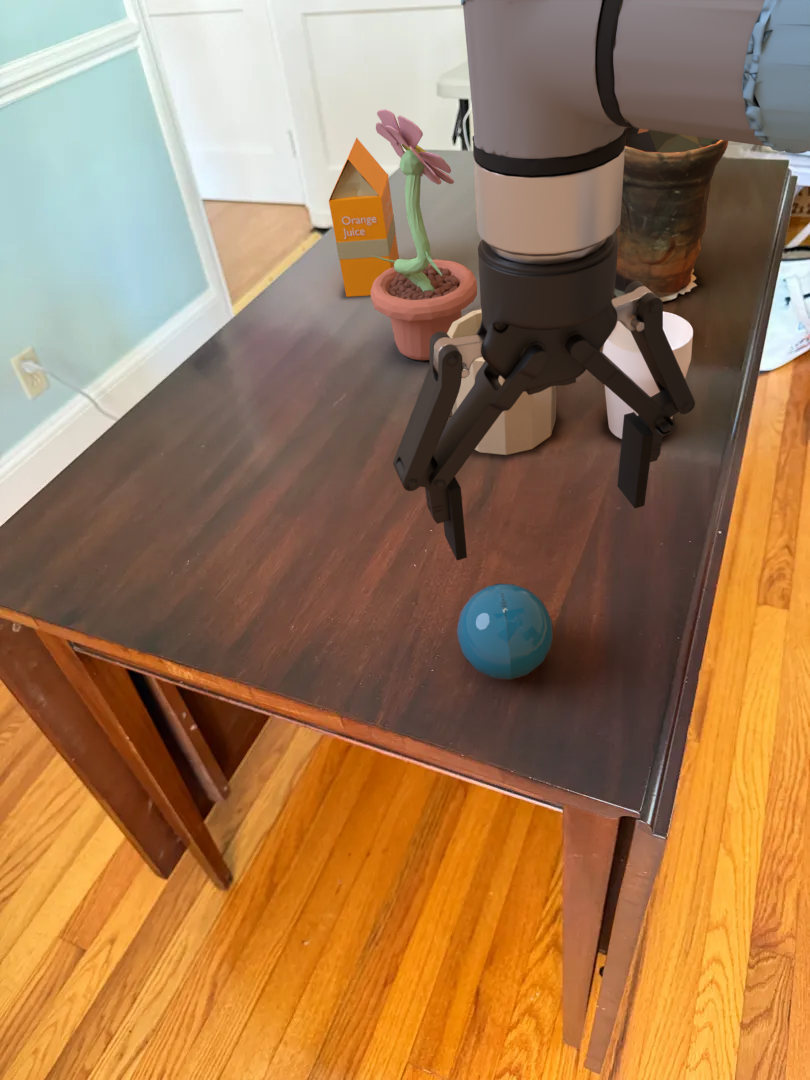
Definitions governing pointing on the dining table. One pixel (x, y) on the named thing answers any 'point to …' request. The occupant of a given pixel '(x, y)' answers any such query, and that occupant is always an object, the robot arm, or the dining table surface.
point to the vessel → (663, 209)
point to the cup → (642, 363)
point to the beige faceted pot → (525, 418)
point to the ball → (505, 631)
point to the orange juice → (363, 221)
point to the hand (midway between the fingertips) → (544, 521)
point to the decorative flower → (419, 255)
